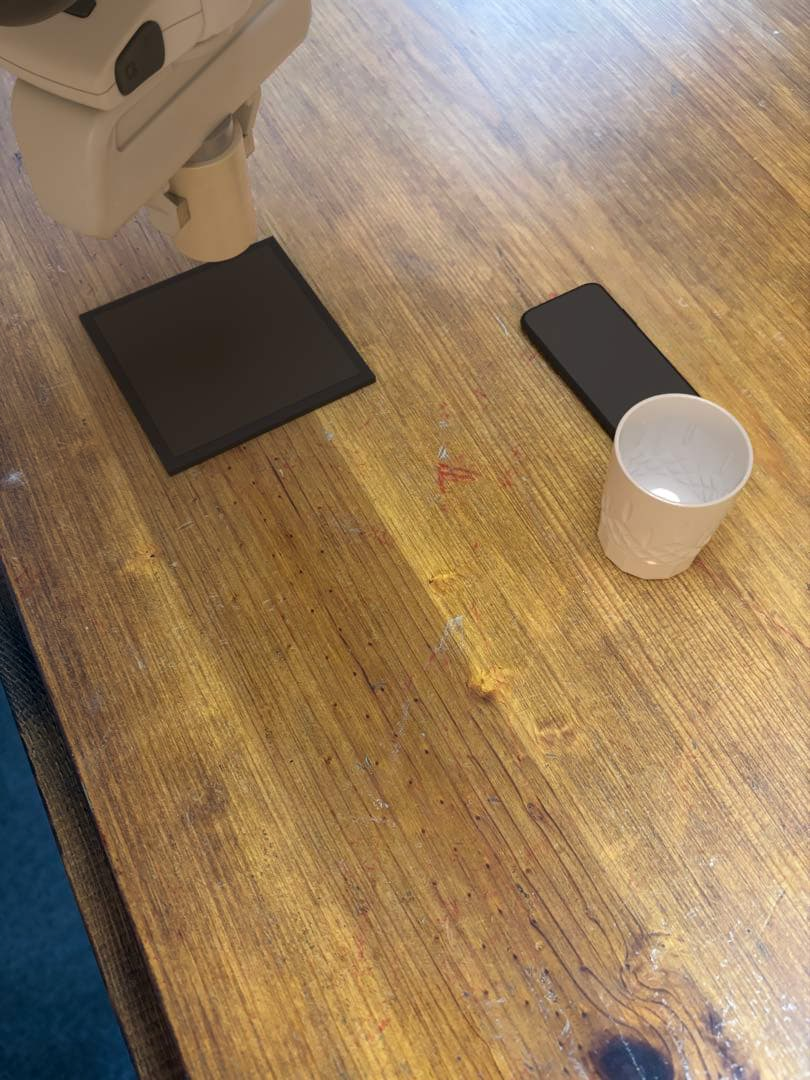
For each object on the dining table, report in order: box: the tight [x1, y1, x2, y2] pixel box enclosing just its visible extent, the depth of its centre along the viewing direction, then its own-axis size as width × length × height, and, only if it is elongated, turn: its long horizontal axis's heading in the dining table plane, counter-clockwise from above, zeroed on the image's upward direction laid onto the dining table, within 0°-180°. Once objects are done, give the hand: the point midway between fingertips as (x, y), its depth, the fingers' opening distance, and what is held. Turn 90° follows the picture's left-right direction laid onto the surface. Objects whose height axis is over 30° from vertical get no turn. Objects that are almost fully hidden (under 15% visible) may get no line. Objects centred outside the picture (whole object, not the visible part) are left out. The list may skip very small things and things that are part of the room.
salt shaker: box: [168, 113, 258, 263], centre depth 61 cm, size 5×5×8 cm
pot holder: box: [78, 235, 377, 477], centre depth 77 cm, size 16×16×1 cm
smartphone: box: [519, 282, 703, 440], centre depth 76 cm, size 7×1×15 cm
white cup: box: [596, 394, 754, 580], centre depth 65 cm, size 8×8×10 cm
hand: (204, 190), depth 62 cm, fingers closed on salt shaker, 5 cm apart
